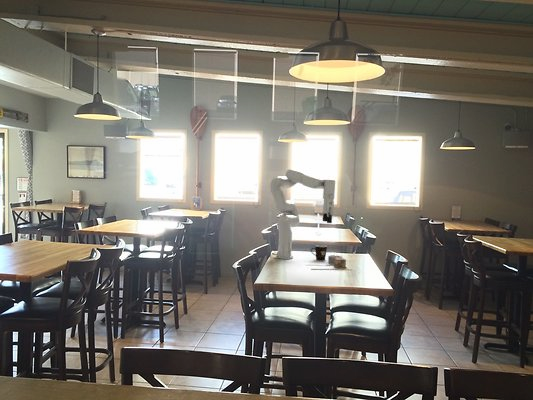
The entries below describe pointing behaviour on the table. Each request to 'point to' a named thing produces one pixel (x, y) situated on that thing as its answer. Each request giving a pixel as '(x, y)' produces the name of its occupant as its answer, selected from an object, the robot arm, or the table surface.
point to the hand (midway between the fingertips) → (327, 222)
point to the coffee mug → (320, 252)
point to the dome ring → (332, 259)
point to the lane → (332, 269)
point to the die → (339, 263)
